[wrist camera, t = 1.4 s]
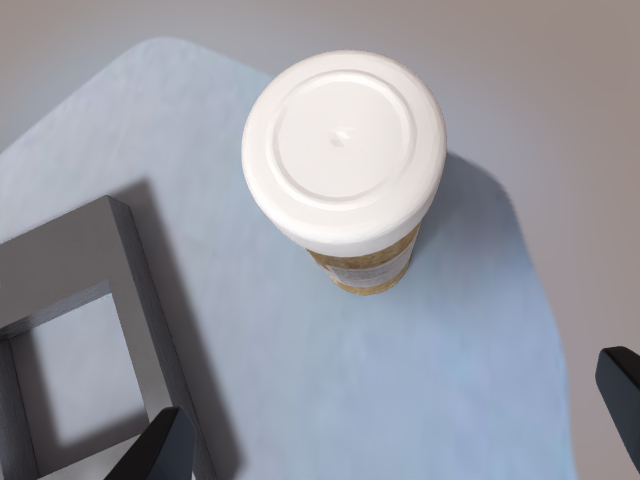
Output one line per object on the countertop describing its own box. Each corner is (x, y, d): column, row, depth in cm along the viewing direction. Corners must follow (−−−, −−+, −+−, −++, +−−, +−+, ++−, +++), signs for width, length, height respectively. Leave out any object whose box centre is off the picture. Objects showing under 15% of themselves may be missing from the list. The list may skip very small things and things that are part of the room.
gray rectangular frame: (223, 499, 21) (206, 516, 19) (37, 579, 21) (2, 603, 19) (128, 205, 25) (106, 194, 23) (-27, 278, 25) (-61, 273, 23)
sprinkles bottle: (318, 214, 23) (231, 58, 10) (406, 204, 23) (434, 24, 10) (325, 302, 22) (239, 253, 9) (417, 293, 22) (467, 228, 8)
